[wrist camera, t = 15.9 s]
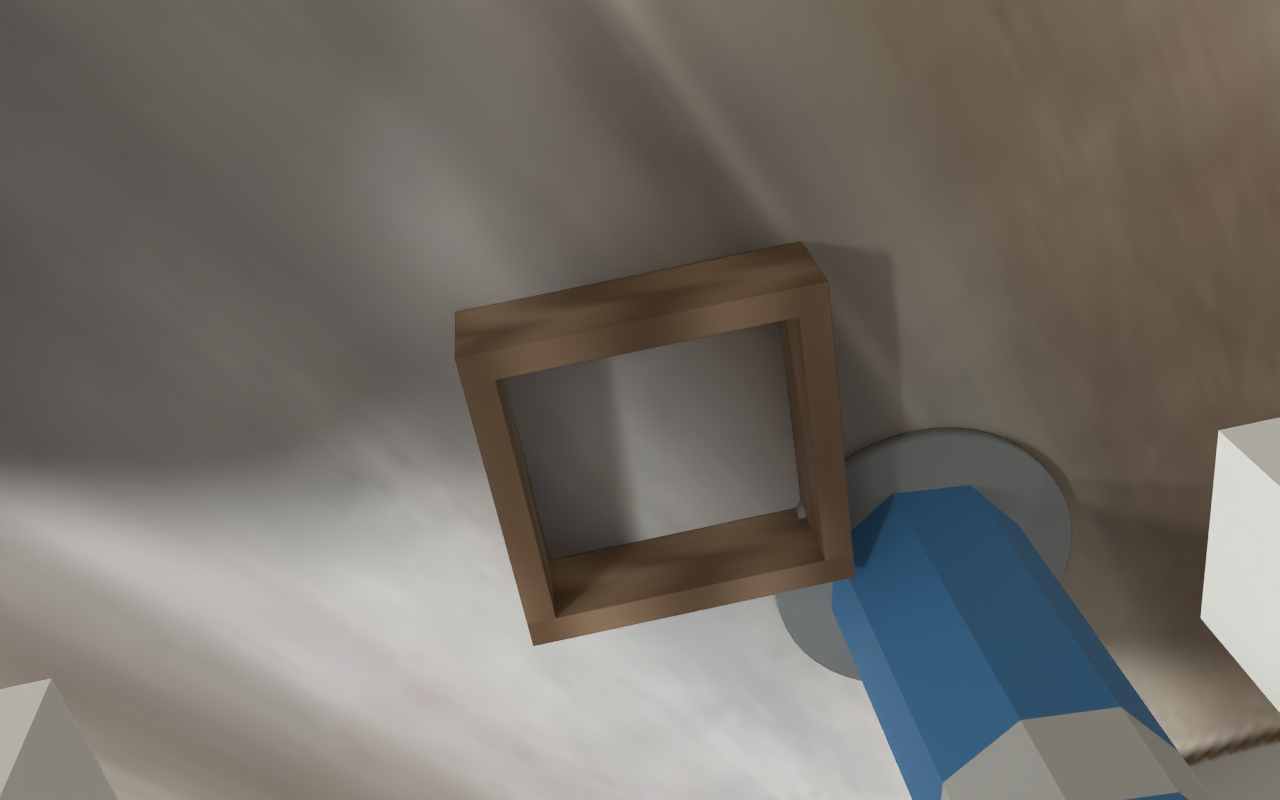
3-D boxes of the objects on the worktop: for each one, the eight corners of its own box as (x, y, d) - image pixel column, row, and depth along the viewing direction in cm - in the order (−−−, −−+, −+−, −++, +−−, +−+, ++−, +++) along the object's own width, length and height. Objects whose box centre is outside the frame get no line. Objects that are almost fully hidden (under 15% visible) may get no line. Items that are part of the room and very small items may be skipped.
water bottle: (864, 674, 58) (1105, 1236, 36) (795, 537, 53) (1024, 1087, 32) (1044, 595, 57) (1403, 1124, 35) (990, 449, 52) (1363, 953, 31)
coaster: (788, 698, 59) (792, 709, 58) (756, 464, 52) (760, 474, 51) (1062, 638, 60) (1068, 649, 59) (1066, 399, 53) (1075, 408, 52)
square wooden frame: (528, 587, 54) (533, 646, 50) (455, 312, 47) (454, 358, 43) (829, 523, 54) (854, 577, 51) (801, 241, 47) (828, 281, 44)
